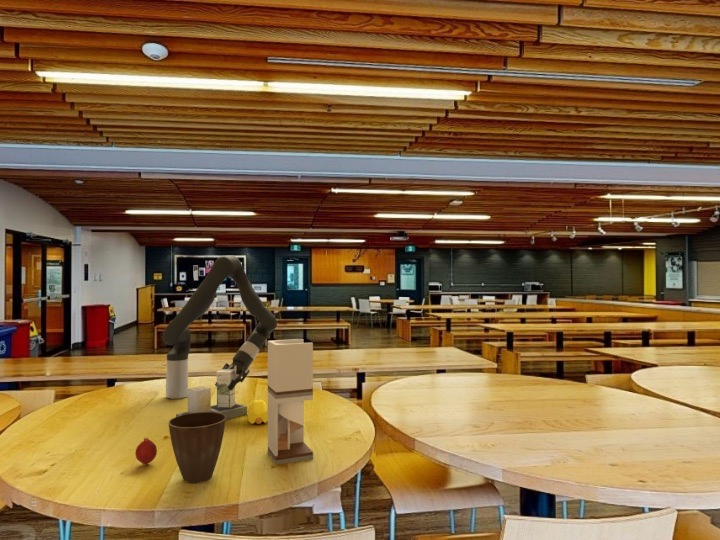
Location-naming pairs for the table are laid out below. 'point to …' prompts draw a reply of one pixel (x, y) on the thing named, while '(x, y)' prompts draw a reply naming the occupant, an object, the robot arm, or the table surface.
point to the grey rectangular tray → (227, 411)
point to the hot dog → (257, 412)
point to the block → (199, 399)
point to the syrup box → (225, 388)
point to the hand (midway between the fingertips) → (223, 387)
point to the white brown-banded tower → (288, 398)
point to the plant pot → (197, 443)
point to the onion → (146, 451)
